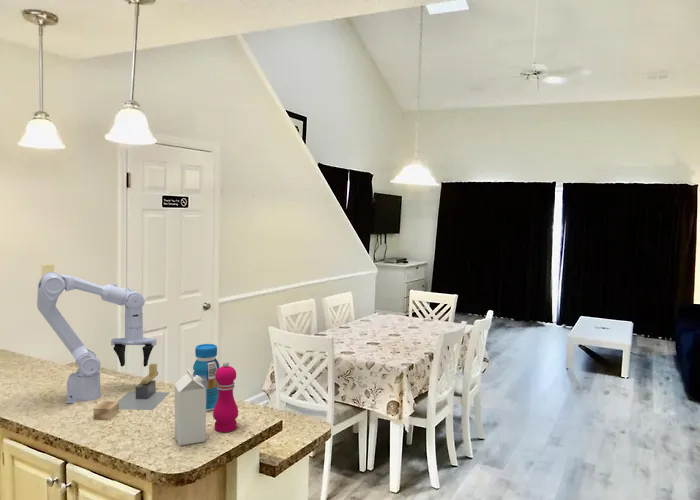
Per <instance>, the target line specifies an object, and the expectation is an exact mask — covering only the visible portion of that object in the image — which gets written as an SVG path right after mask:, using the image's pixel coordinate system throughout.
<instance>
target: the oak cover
mask: <svg viewBox="0 0 700 500" xmlns="http://www.w3.org/2000/svg"><path fill="white" fill-rule="evenodd" d="M119 413H120V409H119V402H117V401H101V402H100V403H99V404H97V405H96V406H95V407H93V421H95V420H97V421H111V420H112V419H113V418H114V417H116V416H117V415H118V414H119Z"/></svg>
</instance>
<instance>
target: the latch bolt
mask: <svg viewBox="0 0 700 500" xmlns="http://www.w3.org/2000/svg"><path fill="white" fill-rule="evenodd" d="M158 375H159V371H158V364H157V363H149V366H148V374H147V375H146V376H145V377H144V378H143V379H141V381H140V383H141V384H148V383H149V382H150V381H154V380H155V378H157V376H158Z"/></svg>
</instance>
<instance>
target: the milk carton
mask: <svg viewBox="0 0 700 500" xmlns="http://www.w3.org/2000/svg"><path fill="white" fill-rule="evenodd" d="M186 371H187V372H186V373H185V374H184V375H183V376H182V377H181V378H180V379H179V380H177V382H175V384H174V437H175V439H176V441H177V444H178V446H179V447H181V446H186V445H191V444H197V443H204V442H206V441H207V440H206V439H207V437H206V435H207V434H206V433H207V427H206V426H207V419H206V418H207V415H206V414H207V411H206V389H205V387H204V386H203V384H202V383H201V381H202V378H201V377H199V376H198V375H196V376H195V377H194V376H193V373H192V372H191V371H190V369H189V368H187V369H186Z"/></svg>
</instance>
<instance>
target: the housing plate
mask: <svg viewBox="0 0 700 500" xmlns="http://www.w3.org/2000/svg"><path fill="white" fill-rule="evenodd" d="M156 384H157V383H156V380H152V381H150V382H149V383H148V384H141V382H139V384H138V385H136V386H135V391H128V392H127V393H125V395H123V396H122V397H121V398H120V399H118V400H117V401H116V402H119V410H127V411H128V410H133V411H135V410H136V411H154V410H155V409H156V408H157V406H159V405H160V403H162V402H163V401H164V400H165V398H166V397H167V396H168V395H170V393H171V392H169V391H156V386H157V385H156Z"/></svg>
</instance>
